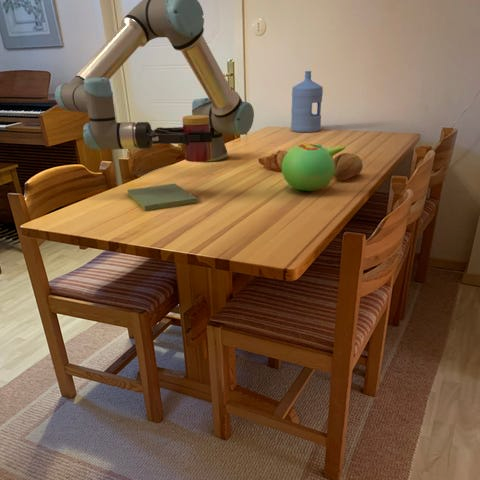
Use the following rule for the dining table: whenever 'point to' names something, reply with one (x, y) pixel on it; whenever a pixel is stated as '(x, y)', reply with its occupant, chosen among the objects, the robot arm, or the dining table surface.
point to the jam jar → (197, 145)
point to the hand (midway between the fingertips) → (212, 134)
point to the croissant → (273, 161)
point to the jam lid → (196, 120)
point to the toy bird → (309, 166)
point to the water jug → (306, 105)
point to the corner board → (161, 196)
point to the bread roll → (347, 166)
